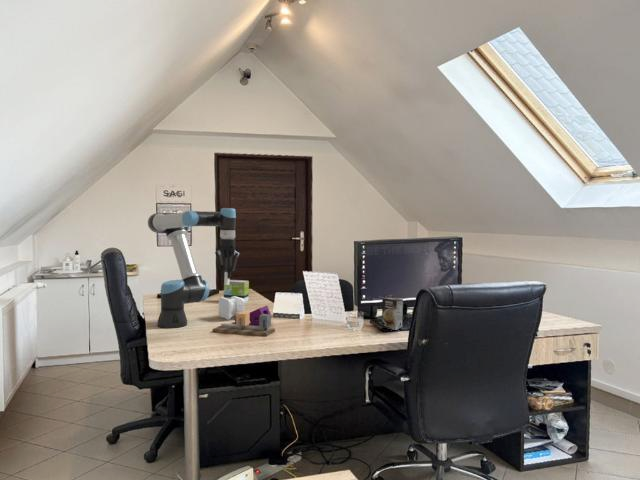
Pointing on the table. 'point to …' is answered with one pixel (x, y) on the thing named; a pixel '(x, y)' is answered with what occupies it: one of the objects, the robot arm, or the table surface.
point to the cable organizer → (230, 306)
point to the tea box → (237, 289)
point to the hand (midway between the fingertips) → (226, 284)
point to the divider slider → (242, 319)
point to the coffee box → (392, 312)
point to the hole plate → (243, 331)
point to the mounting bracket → (257, 315)
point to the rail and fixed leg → (263, 325)
